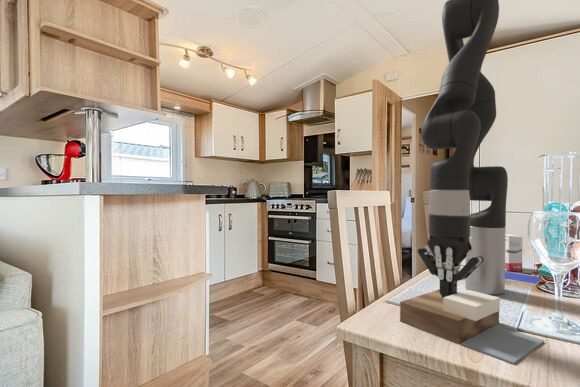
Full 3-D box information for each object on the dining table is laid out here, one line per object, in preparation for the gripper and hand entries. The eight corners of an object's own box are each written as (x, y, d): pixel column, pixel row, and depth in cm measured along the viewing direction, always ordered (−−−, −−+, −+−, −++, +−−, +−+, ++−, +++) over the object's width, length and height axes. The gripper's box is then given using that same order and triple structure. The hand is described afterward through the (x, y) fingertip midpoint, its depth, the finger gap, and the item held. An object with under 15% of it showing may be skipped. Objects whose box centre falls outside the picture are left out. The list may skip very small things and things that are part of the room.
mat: (495, 326, 65) (495, 325, 65) (544, 342, 58) (544, 340, 58) (461, 344, 57) (461, 342, 57) (513, 364, 51) (513, 362, 51)
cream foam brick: (467, 301, 68) (467, 289, 68) (499, 310, 63) (499, 297, 63) (443, 310, 63) (443, 297, 63) (475, 321, 58) (475, 306, 58)
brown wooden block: (442, 305, 77) (442, 288, 77) (498, 322, 67) (499, 302, 67) (400, 321, 68) (400, 301, 67) (458, 343, 58) (458, 320, 58)
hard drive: (487, 273, 103) (536, 281, 94) (495, 269, 108) (542, 276, 99) (487, 278, 103) (536, 287, 94) (495, 274, 108) (541, 282, 99)
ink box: (523, 271, 110) (523, 236, 110) (508, 271, 110) (508, 236, 110) (506, 265, 118) (507, 232, 118) (492, 265, 118) (493, 232, 118)
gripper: (493, 214, 63) (492, 304, 63) (429, 210, 74) (428, 287, 74) (473, 215, 59) (472, 312, 59) (409, 211, 69) (408, 293, 70)
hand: (447, 298), depth 66 cm, fingers closed
